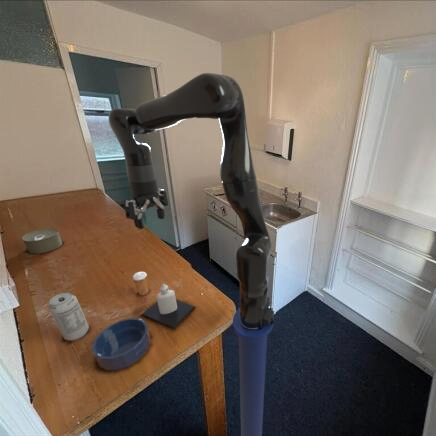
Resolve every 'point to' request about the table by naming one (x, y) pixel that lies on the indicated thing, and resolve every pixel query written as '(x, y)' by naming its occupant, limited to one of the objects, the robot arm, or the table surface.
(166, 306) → the eye dropper bottle
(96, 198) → the table surface
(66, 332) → the energy drink can
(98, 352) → the bowl
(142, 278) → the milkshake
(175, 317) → the mat
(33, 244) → the can
